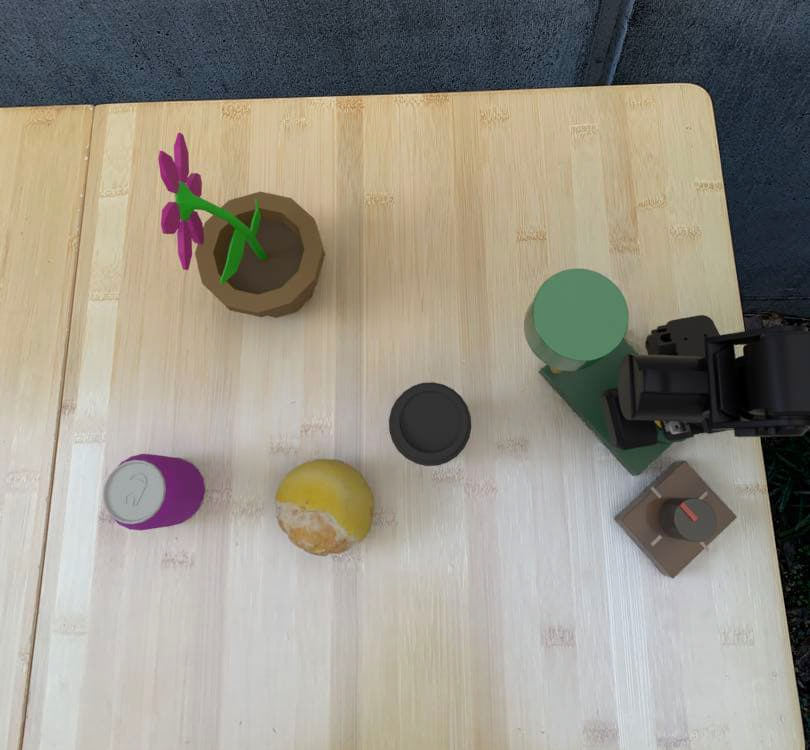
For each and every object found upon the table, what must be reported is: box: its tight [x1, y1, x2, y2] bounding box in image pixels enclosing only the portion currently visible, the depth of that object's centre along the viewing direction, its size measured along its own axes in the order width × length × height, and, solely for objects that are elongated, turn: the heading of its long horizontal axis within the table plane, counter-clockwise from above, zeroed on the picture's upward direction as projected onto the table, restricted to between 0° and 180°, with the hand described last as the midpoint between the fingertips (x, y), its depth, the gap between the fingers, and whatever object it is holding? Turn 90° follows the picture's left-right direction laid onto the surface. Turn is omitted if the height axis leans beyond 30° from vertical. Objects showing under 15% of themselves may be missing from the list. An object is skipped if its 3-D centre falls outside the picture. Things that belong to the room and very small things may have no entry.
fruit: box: [274, 458, 376, 557], centre depth 74 cm, size 10×11×10 cm
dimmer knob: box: [659, 498, 717, 542], centre depth 73 cm, size 4×4×5 cm
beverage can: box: [102, 453, 206, 531], centre depth 74 cm, size 8×8×12 cm
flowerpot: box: [157, 132, 326, 318], centre depth 71 cm, size 14×14×30 cm
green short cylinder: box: [523, 268, 630, 371], centre depth 59 cm, size 8×8×5 cm
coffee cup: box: [388, 381, 472, 467], centre depth 73 cm, size 8×8×15 cm
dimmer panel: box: [613, 460, 738, 579], centre depth 76 cm, size 9×10×3 cm
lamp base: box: [538, 337, 687, 477], centre depth 79 cm, size 16×10×4 cm, turn 40°
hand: (668, 413), depth 77 cm, fingers closed, pressing on lamp switch
